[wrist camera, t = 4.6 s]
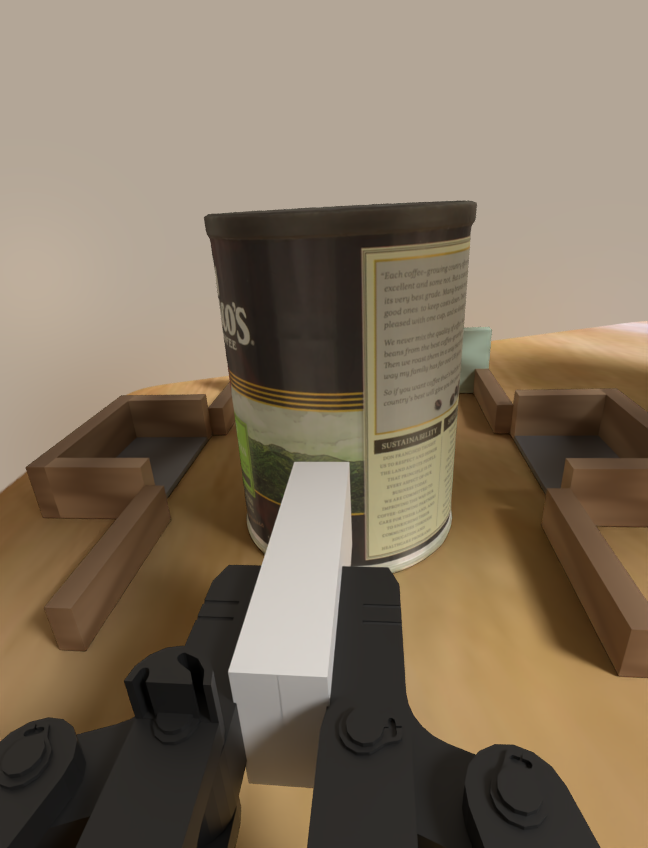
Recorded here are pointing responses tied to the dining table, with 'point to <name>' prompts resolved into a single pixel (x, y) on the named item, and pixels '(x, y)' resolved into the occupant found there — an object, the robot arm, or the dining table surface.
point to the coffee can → (348, 360)
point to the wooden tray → (524, 419)
